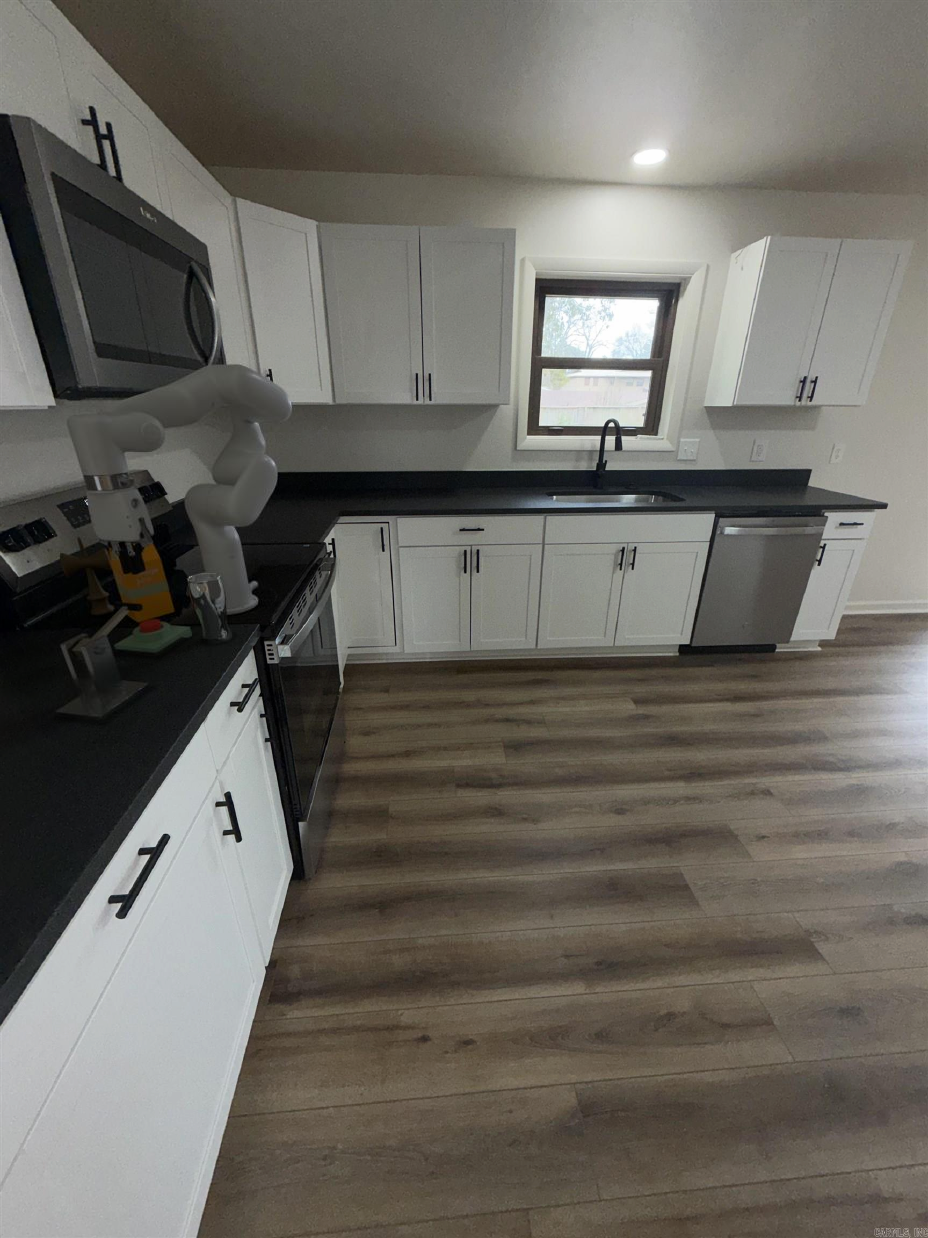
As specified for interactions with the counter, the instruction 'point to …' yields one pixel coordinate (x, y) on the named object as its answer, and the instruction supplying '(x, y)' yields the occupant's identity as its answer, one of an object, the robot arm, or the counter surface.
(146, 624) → the button
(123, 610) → the stove lever
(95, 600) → the kendama
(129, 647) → the button block
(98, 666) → the lever bracket
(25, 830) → the counter surface
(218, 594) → the beer glass
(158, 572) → the orange juice
